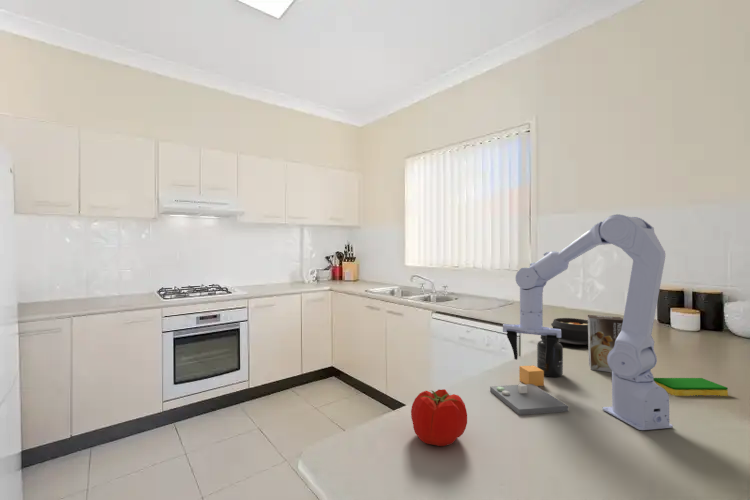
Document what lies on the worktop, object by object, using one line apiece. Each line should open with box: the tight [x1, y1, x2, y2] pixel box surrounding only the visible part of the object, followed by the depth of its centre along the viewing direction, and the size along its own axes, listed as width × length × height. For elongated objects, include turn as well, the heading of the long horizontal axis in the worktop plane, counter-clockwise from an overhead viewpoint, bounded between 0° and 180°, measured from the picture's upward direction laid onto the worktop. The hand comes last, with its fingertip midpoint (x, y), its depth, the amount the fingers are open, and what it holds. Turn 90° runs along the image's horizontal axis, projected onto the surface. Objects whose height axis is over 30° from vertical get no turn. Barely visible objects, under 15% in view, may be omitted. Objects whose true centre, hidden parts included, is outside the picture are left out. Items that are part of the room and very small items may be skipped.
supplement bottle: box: [536, 335, 564, 378], centre depth 100 cm, size 7×7×12 cm
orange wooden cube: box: [518, 365, 545, 387], centre depth 92 cm, size 4×4×4 cm
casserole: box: [550, 317, 588, 346], centre depth 136 cm, size 25×19×8 cm
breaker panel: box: [489, 384, 569, 416], centre depth 81 cm, size 13×12×2 cm
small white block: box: [517, 383, 527, 394], centre depth 83 cm, size 1×2×2 cm
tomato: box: [410, 389, 468, 447], centre depth 64 cm, size 11×11×9 cm
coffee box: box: [587, 314, 624, 373], centre depth 104 cm, size 9×6×16 cm
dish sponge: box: [654, 377, 729, 397], centre depth 88 cm, size 7×14×2 cm, turn 90°
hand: (531, 360), depth 92 cm, fingers open, 7 cm apart
